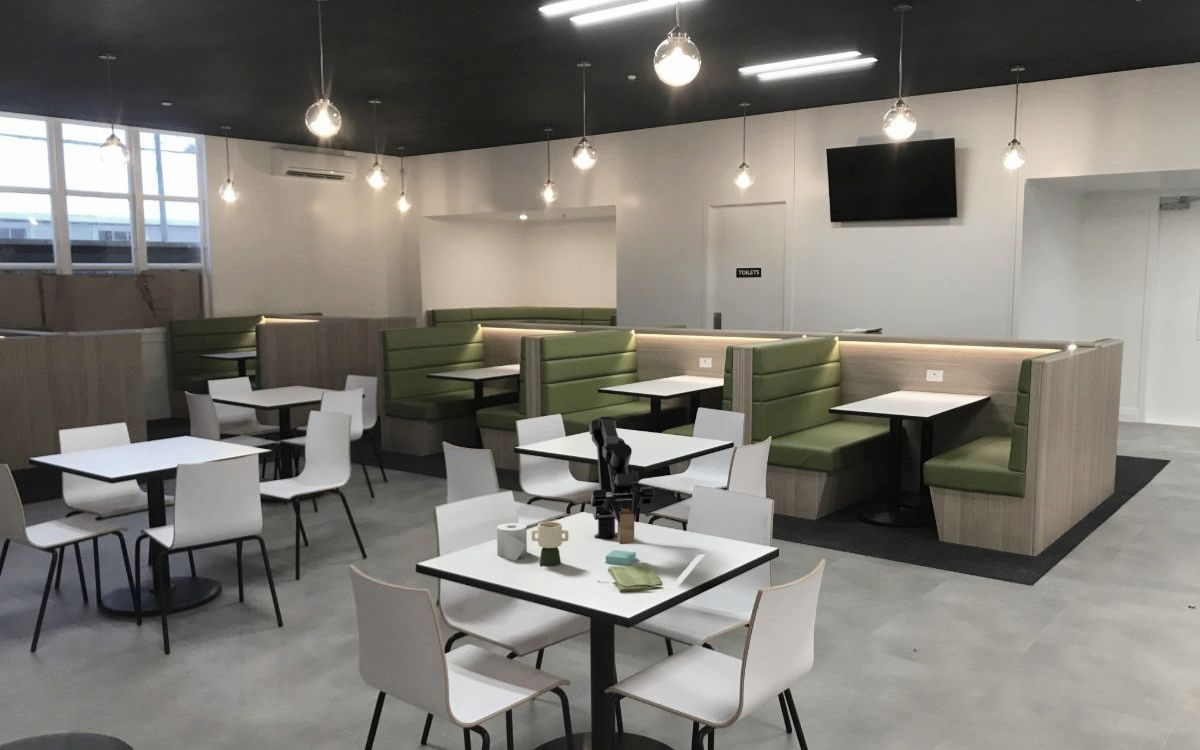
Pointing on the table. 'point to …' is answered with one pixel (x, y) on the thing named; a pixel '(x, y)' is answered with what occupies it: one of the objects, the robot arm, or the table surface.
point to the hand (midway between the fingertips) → (626, 521)
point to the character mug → (550, 542)
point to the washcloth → (634, 578)
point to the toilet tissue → (511, 540)
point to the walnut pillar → (626, 527)
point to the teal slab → (620, 557)
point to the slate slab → (622, 564)
